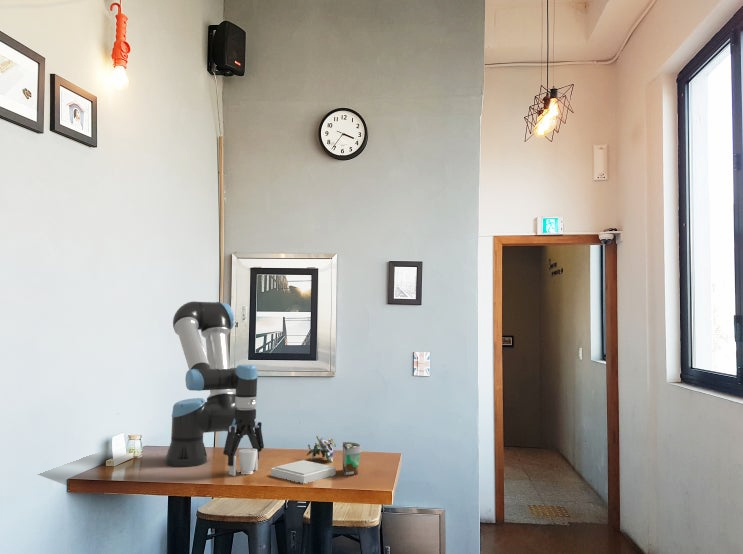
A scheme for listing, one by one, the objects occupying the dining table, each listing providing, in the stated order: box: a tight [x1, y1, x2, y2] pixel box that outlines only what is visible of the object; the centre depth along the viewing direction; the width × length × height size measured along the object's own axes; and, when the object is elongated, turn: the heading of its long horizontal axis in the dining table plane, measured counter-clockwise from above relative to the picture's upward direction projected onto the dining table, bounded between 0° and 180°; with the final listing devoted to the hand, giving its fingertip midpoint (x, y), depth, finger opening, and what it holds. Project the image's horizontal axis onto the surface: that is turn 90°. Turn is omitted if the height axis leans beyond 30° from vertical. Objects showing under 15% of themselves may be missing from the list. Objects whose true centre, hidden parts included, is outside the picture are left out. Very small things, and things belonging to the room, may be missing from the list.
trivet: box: [270, 459, 336, 485], centre depth 212 cm, size 16×16×3 cm
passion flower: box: [306, 435, 337, 463], centre depth 234 cm, size 11×11×12 cm
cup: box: [235, 447, 257, 475], centre depth 214 cm, size 7×10×8 cm
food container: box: [342, 441, 363, 477], centre depth 216 cm, size 12×6×10 cm, turn 9°
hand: (243, 472), depth 213 cm, fingers open, 9 cm apart
